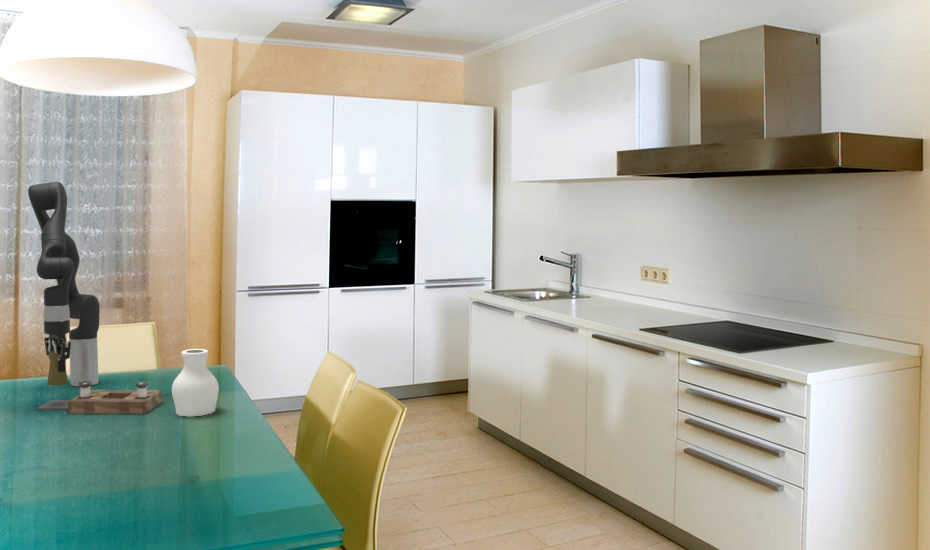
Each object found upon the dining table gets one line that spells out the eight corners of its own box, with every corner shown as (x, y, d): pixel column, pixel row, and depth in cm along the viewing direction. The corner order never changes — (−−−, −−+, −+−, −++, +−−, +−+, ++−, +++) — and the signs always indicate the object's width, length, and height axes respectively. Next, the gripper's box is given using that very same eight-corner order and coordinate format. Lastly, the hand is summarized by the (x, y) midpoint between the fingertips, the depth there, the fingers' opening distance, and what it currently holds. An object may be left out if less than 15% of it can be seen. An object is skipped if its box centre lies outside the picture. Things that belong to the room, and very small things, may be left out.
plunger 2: (138, 405, 248) (138, 381, 248) (150, 405, 248) (149, 381, 248) (134, 408, 245) (133, 384, 244) (146, 408, 245) (145, 384, 244)
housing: (89, 401, 255) (89, 389, 255) (162, 402, 256) (161, 390, 256) (68, 413, 240) (67, 401, 240) (145, 413, 241) (145, 401, 241)
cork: (64, 380, 253) (64, 348, 252) (70, 383, 248) (70, 350, 248) (44, 383, 248) (44, 349, 248) (50, 386, 244) (50, 352, 243)
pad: (52, 401, 254) (52, 400, 254) (82, 402, 254) (82, 400, 254) (36, 409, 244) (36, 407, 244) (68, 409, 245) (68, 408, 244)
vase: (198, 404, 254) (197, 345, 252) (228, 410, 247) (227, 350, 245) (162, 413, 242) (161, 351, 240) (192, 420, 235) (191, 356, 233)
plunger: (82, 405, 248) (81, 381, 247) (94, 405, 248) (93, 381, 247) (77, 408, 244) (76, 383, 243) (89, 408, 244) (88, 383, 243)
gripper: (34, 317, 248) (36, 369, 250) (54, 322, 239) (56, 375, 241) (58, 315, 254) (59, 365, 256) (79, 319, 245) (80, 371, 247)
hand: (58, 370), depth 248 cm, fingers closed on cork, 5 cm apart
